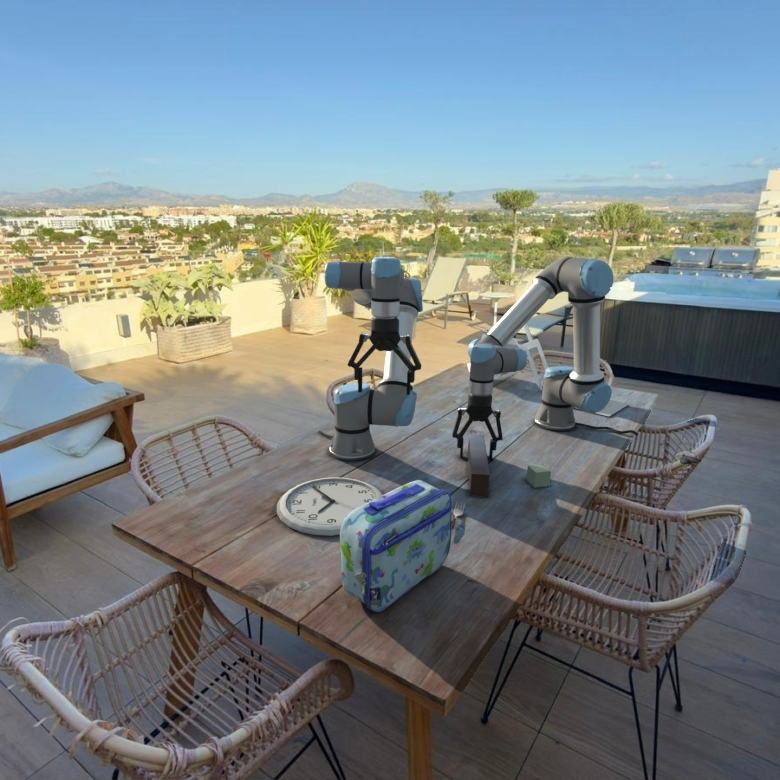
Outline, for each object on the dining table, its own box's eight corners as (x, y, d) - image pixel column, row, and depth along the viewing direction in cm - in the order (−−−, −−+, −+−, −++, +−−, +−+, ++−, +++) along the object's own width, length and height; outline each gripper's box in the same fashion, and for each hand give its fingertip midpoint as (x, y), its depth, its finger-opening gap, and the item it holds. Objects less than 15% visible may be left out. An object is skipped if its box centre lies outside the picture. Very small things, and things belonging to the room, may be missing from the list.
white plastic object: (488, 419, 265) (468, 396, 240) (469, 347, 287) (449, 319, 262) (559, 395, 253) (546, 369, 228) (534, 321, 275) (519, 290, 250)
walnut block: (467, 452, 178) (468, 433, 176) (482, 453, 177) (484, 434, 175) (470, 495, 149) (471, 473, 147) (487, 497, 149) (489, 474, 147)
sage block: (541, 478, 160) (542, 463, 159) (549, 486, 156) (551, 470, 154) (526, 480, 159) (527, 465, 158) (534, 487, 155) (535, 472, 153)
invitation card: (608, 416, 214) (573, 407, 224) (608, 416, 214) (573, 408, 224) (628, 404, 229) (594, 396, 238) (628, 405, 229) (594, 397, 238)
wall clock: (392, 527, 129) (268, 531, 127) (391, 533, 130) (269, 537, 127) (383, 473, 158) (282, 475, 155) (383, 478, 158) (282, 480, 156)
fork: (441, 537, 129) (441, 530, 128) (456, 506, 143) (456, 499, 142) (451, 539, 128) (452, 532, 127) (465, 508, 142) (466, 501, 142)
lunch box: (369, 626, 100) (370, 530, 93) (334, 598, 107) (332, 507, 101) (455, 567, 117) (460, 483, 111) (419, 547, 124) (423, 467, 118)
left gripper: (432, 316, 142) (429, 390, 148) (342, 312, 145) (343, 386, 151) (431, 320, 135) (428, 398, 141) (336, 317, 138) (337, 393, 144)
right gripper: (513, 391, 169) (507, 455, 176) (446, 388, 171) (443, 451, 178) (516, 398, 162) (510, 464, 169) (446, 394, 164) (442, 460, 171)
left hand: (384, 392), depth 146 cm, fingers open, 13 cm apart
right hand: (475, 457), depth 173 cm, fingers open, 9 cm apart
